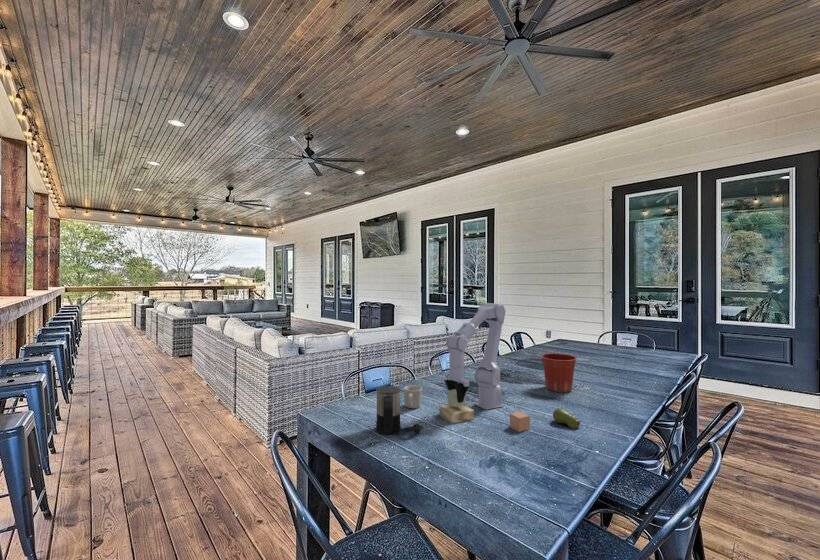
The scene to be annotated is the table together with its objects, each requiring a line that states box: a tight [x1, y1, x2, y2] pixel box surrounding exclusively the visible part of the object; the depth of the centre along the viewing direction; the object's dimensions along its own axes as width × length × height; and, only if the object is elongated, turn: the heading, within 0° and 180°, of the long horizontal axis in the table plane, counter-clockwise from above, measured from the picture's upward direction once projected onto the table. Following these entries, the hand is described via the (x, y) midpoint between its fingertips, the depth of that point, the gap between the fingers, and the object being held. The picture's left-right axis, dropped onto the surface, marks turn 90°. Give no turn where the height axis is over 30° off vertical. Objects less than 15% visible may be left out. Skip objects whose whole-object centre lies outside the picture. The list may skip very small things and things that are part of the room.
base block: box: [438, 403, 475, 425], centre depth 147 cm, size 10×10×4 cm
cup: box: [403, 384, 423, 409], centre depth 157 cm, size 11×8×8 cm
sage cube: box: [447, 389, 466, 407], centre depth 147 cm, size 5×5×5 cm
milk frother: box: [375, 385, 424, 435], centre depth 134 cm, size 14×16×15 cm
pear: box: [552, 408, 581, 429], centre depth 140 cm, size 6×5×10 cm
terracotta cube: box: [509, 411, 531, 433], centre depth 136 cm, size 5×5×5 cm
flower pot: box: [540, 352, 578, 393], centre depth 184 cm, size 16×16×16 cm
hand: (456, 400), depth 147 cm, fingers closed on sage cube, 5 cm apart
